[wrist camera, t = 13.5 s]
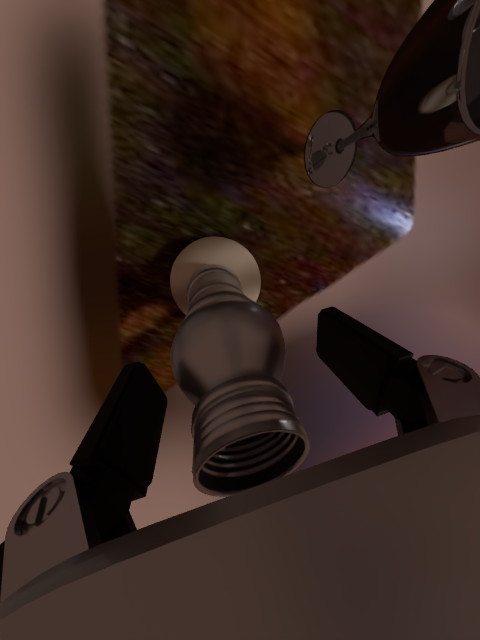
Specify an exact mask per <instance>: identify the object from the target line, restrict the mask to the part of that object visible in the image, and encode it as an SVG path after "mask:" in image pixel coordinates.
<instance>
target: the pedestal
mask: <svg viewBox="0 0 480 640" xmlns="http://www.w3.org/2000/svg"><path fill="white" fill-rule="evenodd" d="M211 264H218V265H223V266H226V267H228V268H230V269H231V270H232V271H233V272H235V274H236V275H237V276H238V278H239V280H240V283H241V286H242V292H243V293H244V294H245V295H246V296H247V297H248V298H249V299H251V300H252V301H254V302H256V300H257V298H258V295H259V292H260V286H261V278H260V272H259V268H258V265H257V263H256V261H255V259H254V258H253V256H252V255H251V254H250V252H249V251H248V250H247V249H246V248H244V247H243V246H242V245H240V244H239V243H237V242H235V241H233V240H230V239H227V238H223V237H204V238H201V239H198V240H196V241H194V242H192V243H191V244H189V245H188V246H187V247H186V248H185V249H184V250H182V251H181V253H180V254H179V255H178V257H177V258H176V260H175V262H174V264H173V267H172V270H171V275H170V287H171V292H172V295H173V298H174V300H175V302H176V304H177V305H178V307H179V308H180V309H181V310H182V312H183V313H184V314H186V315H187V313H188V309H189V304H188V301H187V296H186V287H187V283H188V281H189V279H190V277H191V276H192V275H193V273H194V272H196V271H197V270H198V269H200V268H201V267H203V266H206V265H211Z"/></svg>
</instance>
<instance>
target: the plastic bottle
mask: <svg viewBox="0 0 480 640" xmlns="http://www.w3.org/2000/svg"><path fill="white" fill-rule="evenodd" d="M186 296H187V301H188V304H189V309H188V313H187V315H186V317H185V318H184V320H183V322H182V324H181V325H180V327H179V329H178V331H177V333H176V336H175V338H174V341H173V344H172V348H171V365H172V369H173V373H174V377H175V380H176V382H177V384H178V386H179V387H180V389H181V390H182V391H183V393H184V394H185V395H186V397H187V398H188V399H189V400H190V401H191V402H192V403H193V404H194V405H195V408H194V411H193V414H192V428H191V433H192V437H193V439H194V446H193V467H192V473H193V482H194V485H195V487H196V488H197V489H198V490H199V491H200V492H202V493H204V494H208V495H212V496H220V497H221V496H231V495H234V494H237V493H239V492H242V491H245V490H248V489H250V488H253V487H256V486H259V485H262V484H264V483H267V482H270V481H273V480H275V479H278V478H281V477H284V476H287V475H289V474H290V473H291V472H293V471H294V470H295V469H296V468H297V467H298V466H299V465H300V464H301V463H302V462H303V461H304V460H305V458H306V456H307V454H308V452H309V449H310V443H309V440H308V438H307V434H306V432H305V429H304V428H303V426H302V424H301V422H300V420H299V418H298V416H297V414H296V412H295V410H294V406H293V400H292V398H291V396H290V394H289V392H288V390H287V388H286V386H285V385H284V384H283V383H282V382H281V381H280V379H281V376H282V373H283V368H284V362H285V354H286V348H285V341H284V337H283V333H282V330H281V328H280V325H279V323H278V322H277V321H276V319H275V318H274V317H273V316H272V315H271V314H270V313H269V312H268V311H266V310H265V309H264V308H263V307H262V306H261V305H259V304H257V303H256V302H254V301H252V300H251V299H249V298H248V297H247V296H246V295H245V294H244V293H243V292H242V286H241V283H240V280H239V278H238V276H237V275H236V274H235V272H233V271H232V270H231V269H230V268H228V267H226V266H223V265H218V264H211V265H206V266H203V267H201V268H200V269H198V270H197V271H196V272H194V273H193V275H192V276H191V277H190V279H189V281H188V283H187V287H186Z"/></svg>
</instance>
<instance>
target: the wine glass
mask: <svg viewBox="0 0 480 640" xmlns="http://www.w3.org/2000/svg"><path fill="white" fill-rule="evenodd" d="M367 137H374V138H375V139H376V141H377V142H378V144H379V145H380V146H381V147H382V149H383V150H385V151H386V152H388V153H390V154H391V155H394V156H401V157H409V156H421V155H428V154H432V153H438V152H443V151H447V150H450V149H453V148H457V147H460V146H464V145H467V144H470V143H473V142H476V141H480V0H434V2H433V3H432V4H431V5H430V6H429V8H428V9H427V10H426V11H425V13H424V14H423V15H422V17H421V18H420V19H419V21H418V22H417V23H416V25H415V26H414V27H413V29H412V30H411V31H410V33H409V34H408V36H407V37H406V39H405V40H404V42H403V43H402V45H401V46H400V48H399V49H398V51H397V52H396V54H395V56H394V57H393V59H392V61H391V63H390V65H389V67H388V68H387V71H386V73H385V75H384V78H383V80H382V83H381V85H380V88H379V91H378V94H377V97H376V101H375V105H374V109H373V112H372V114H371V115H370V117H369V118H368V119H367V120H366V122H364V123H363V124H362V125H361V126H360V127H359V128H358V129H357V130H356V126H355V123H354V121H353V120H352V118H351V117H350V116H349V115H348V114H347V113H346V112H344V111H341V110H332V111H329V112H327V113H325V114H324V115H322V116H321V117H320V118H319V119H318V120H317V121H316V123H315V124H314V126H313V127H312V129H311V131H310V133H309V136H308V139H307V142H306V147H305V166H306V170H307V173H308V175H309V177H310V179H311V180H312V181H313V182H314V183H315V184H316V185H318V186H320V187H324V188H326V187H332V186H334V185H336V184H338V183H339V182H340V181H342V180H343V178H344V177H345V176H346V175H347V174H348V172H349V171H350V169H351V167H352V165H353V162H354V160H355V156H356V152H357V146H358V141H359V140H361V139H364V138H367Z"/></svg>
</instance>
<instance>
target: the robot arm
mask: <svg viewBox="0 0 480 640" xmlns="http://www.w3.org/2000/svg"><path fill="white" fill-rule="evenodd" d="M316 351H317V354H318V356H319V358H320V359H321V360H322V361H323V362H324V363H325V364H326V365H327V366H328V367H329V368H330V369H331V371H332V372H333V373H334V374H335V375H336V376H337V377H338V378H339V379H340V380H341V381H342V382H343V383H344V385H345V386H346V387H347V388H348V389H349V390H350V391H351V392H352V393H353V394H354V396H356V398H357V399H358V400H359V401H360V402H361V403H362V404H363V405H364V406H365V407H366V408H367V409H368V410H372V411H373V412H374V413H375V414H376V416H380V415H383V414H385V413H388V412H390V413H391V414H392V415H393V416H394V418H395V423H396V428H397V433H398V436H397V437H394V438H391V439H388V440H385V441H382V442H379V443H377V444H374V445H371V446H368V447H365V448H362V449H360V450H357V451H354V452H351V453H348V454H345V455H343V456H340V457H337V458H334V459H331V460H328V461H326V462H323V463H320V464H317V465H314V466H312V467H309V468H306V469H303V470H300V471H298V472H295V473H292V474H289V475H287V476H284V477H281V478H278V479H275V480H273V481H270V482H267V483H264V484H262V485H259V486H256V487H253V488H250V489H248V490H245V491H242V492H239V493H237V494H234V495H231V496H228V497H226V498H223V499H220V500H217V501H215V502H212V503H209V504H206V505H204V506H201V507H198V508H195V509H193V510H191V511H187V512H184V513H182V514H179V515H176V516H173V517H171V518H168V519H165V520H163V521H160V522H157V523H154V524H152V525H149V526H147V527H144V528H141V529H139V530H137V528H136V526H135V524H134V521H133V519H132V517H131V514H130V512H129V508H130V504H131V501H134V500H137V499H140V498H143V497H145V496H146V493H147V488H148V486H149V485H150V484H151V482H152V479H153V474H154V469H155V464H156V458H157V453H158V448H159V443H160V438H161V433H162V427H163V422H164V417H165V412H166V407H167V397H166V395H165V394H164V392H163V391H162V389H161V388H160V386H159V385H158V383H157V382H156V380H155V379H154V377H153V376H152V374H151V373H150V371H149V370H148V368H147V367H146V365H145V364H143V363H142V364H141V363H140V362H135V363H131V364H128V365H125V366H124V367H123V369H122V371H121V373H120V374H119V376H118V378H117V380H116V382H115V383H114V385H113V387H112V389H111V391H110V393H109V394H108V396H107V398H106V399H105V401H104V403H103V405H102V406H101V408H100V410H99V412H98V414H97V415H96V417H95V419H94V421H93V422H92V424H91V426H90V428H89V430H88V431H87V433H86V435H85V437H84V438H83V440H82V442H81V444H80V446H79V447H78V449H77V451H76V453H75V455H74V456H73V458H72V460H71V462H70V465H72V466H73V467H72V469H71V471H70V473H68V472H62V473H58V474H56V475H55V476H52V477H51V478H49V479H48V480H47V481H45V482H44V483H42V484H41V485H40V486H39V487H38V488H37V489H35V490H34V491H33V493H31V494H30V495H29V497H28V498H27V499H26V500H25V501H24V502H23V503H22V505H21V506H20V507H19V509H18V510H17V512H16V513H15V515H14V516H13V518H12V520H11V522H10V524H9V526H8V528H7V532H6V536H5V541H4V542H3V543H1V544H0V640H480V377H479V376H478V374H477V373H476V372H475V371H474V370H473V369H471V368H470V367H468V366H467V365H465V364H463V363H461V362H459V361H457V360H453V359H451V358H448V357H443V356H438V355H425V356H422V357H419V358H418V360H417V361H416V360H414V359H413V358H412V356H413V353H412V352H410V351H408V350H406V349H405V348H403V347H401V346H400V345H398V344H396V343H395V342H393V341H391V340H389V339H388V338H386V337H384V336H383V335H381V334H379V333H378V332H376V331H374V330H372V329H371V328H369V327H367V326H365V325H364V324H362V323H360V322H359V321H357V320H355V319H354V318H352V317H350V316H349V315H347V314H345V313H343V312H342V311H340V310H338V309H337V308H335V307H329V308H326V309H322V310H321V311H320V313H319V314H318V327H317V348H316Z"/></svg>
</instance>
